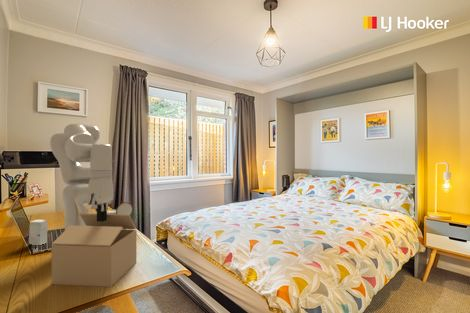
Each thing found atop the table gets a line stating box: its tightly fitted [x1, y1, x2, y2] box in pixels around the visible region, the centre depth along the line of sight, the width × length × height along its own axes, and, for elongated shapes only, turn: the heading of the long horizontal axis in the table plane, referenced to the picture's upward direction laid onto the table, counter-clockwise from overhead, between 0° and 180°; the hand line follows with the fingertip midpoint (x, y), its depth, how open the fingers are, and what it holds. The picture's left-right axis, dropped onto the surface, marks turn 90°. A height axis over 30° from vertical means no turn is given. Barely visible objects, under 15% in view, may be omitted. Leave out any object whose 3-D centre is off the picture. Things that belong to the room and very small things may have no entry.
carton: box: [51, 229, 137, 288], centre depth 91 cm, size 22×18×14 cm
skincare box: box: [28, 219, 48, 246], centre depth 117 cm, size 6×4×12 cm
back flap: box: [79, 212, 137, 230], centre depth 97 cm, size 21×9×1 cm
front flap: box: [51, 225, 123, 246], centre depth 85 cm, size 21×9×1 cm, turn 87°
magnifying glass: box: [115, 201, 134, 230], centre depth 125 cm, size 9×2×20 cm, turn 135°
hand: (101, 220), depth 92 cm, fingers closed
